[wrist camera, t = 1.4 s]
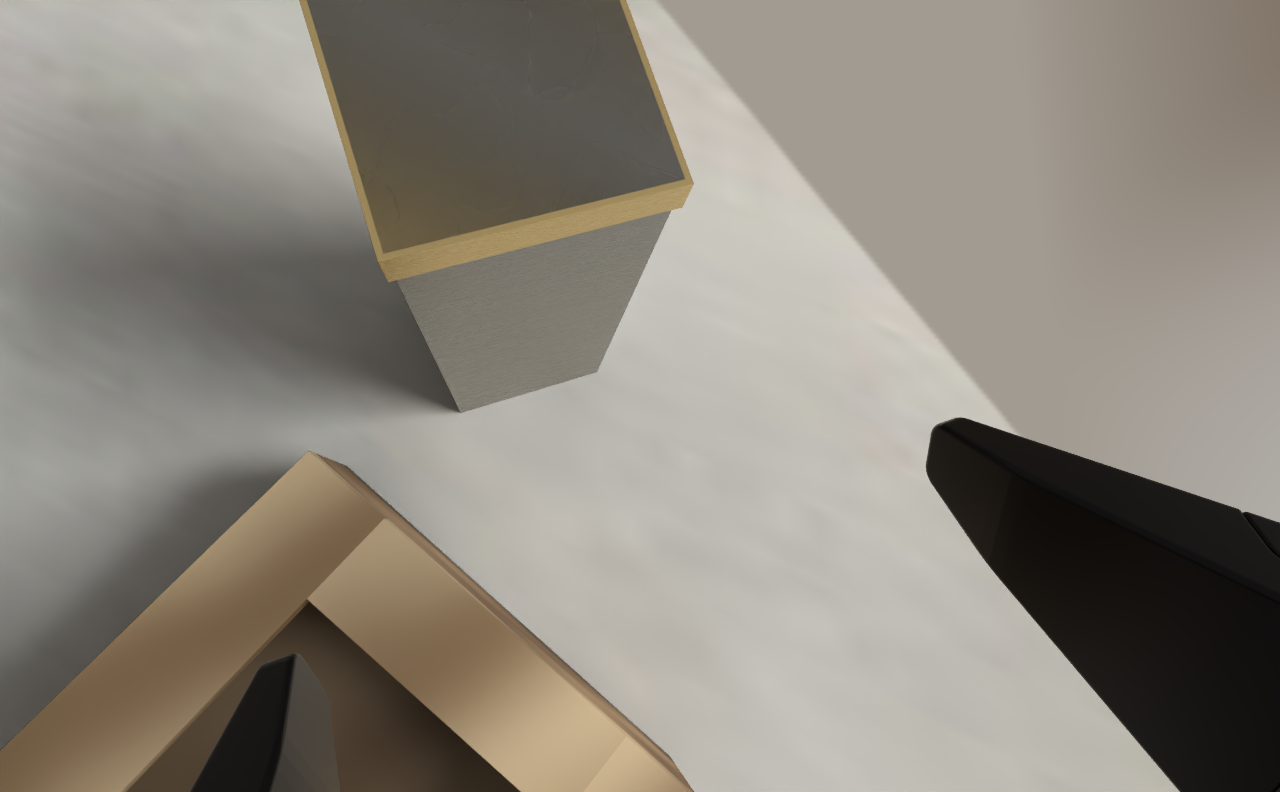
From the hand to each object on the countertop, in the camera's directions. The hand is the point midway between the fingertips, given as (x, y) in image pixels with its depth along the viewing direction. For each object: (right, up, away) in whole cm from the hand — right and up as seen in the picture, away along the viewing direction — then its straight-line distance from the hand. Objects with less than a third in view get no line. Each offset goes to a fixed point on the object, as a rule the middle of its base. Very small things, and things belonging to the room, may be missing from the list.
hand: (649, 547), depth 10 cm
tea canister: (-4, +4, +14) cm, 15 cm away
